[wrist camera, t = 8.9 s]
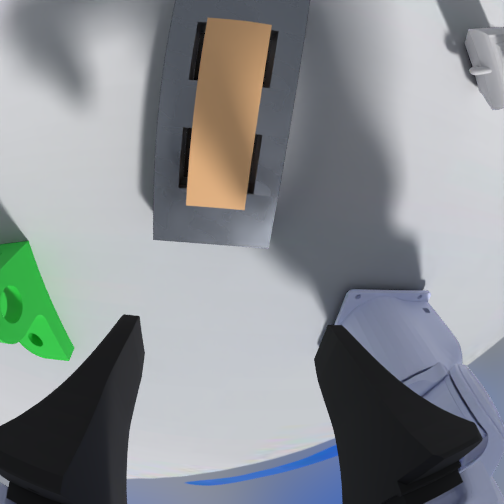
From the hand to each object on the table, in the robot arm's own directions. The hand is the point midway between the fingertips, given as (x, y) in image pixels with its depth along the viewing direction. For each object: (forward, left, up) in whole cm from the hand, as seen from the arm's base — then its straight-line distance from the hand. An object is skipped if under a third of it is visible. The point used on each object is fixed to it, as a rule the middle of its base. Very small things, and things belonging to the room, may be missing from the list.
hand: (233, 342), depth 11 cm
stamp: (-19, -18, -11) cm, 28 cm away
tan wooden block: (+1, -8, -10) cm, 13 cm away
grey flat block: (+1, -8, -10) cm, 13 cm away
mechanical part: (+18, +9, -11) cm, 23 cm away
